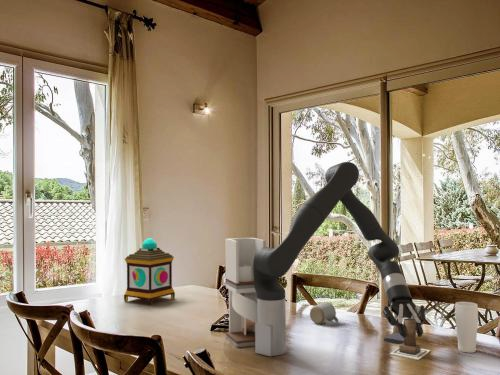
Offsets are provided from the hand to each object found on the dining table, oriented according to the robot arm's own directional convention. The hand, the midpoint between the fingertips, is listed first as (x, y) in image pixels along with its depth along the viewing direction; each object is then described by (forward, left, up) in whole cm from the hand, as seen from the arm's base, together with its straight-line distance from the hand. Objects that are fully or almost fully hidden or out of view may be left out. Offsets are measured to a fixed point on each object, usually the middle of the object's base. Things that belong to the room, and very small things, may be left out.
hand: (412, 335), depth 155 cm
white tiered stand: (-21, +51, -6) cm, 55 cm away
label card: (+1, +1, -6) cm, 6 cm away
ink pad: (+13, +10, -6) cm, 17 cm away
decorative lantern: (+2, +130, -6) cm, 130 cm away
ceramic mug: (+17, +41, -6) cm, 45 cm away
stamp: (+1, +1, -6) cm, 6 cm away
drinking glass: (+14, -12, -6) cm, 20 cm away
